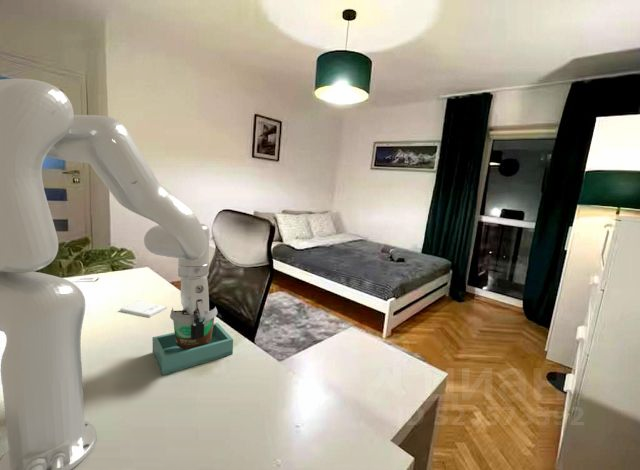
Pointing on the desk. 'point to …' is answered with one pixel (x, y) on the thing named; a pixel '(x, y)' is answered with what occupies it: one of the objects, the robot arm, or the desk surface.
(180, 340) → the food container
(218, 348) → the bin
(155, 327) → the desk surface
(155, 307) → the external hard drive
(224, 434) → the desk surface
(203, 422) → the desk surface
